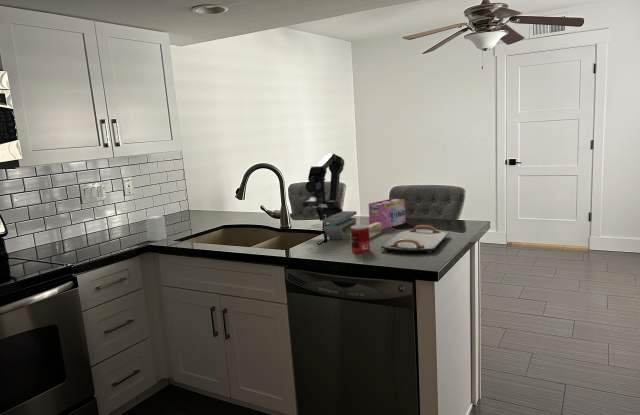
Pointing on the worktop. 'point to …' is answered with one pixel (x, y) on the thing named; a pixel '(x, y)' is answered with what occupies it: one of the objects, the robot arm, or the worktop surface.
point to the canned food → (360, 238)
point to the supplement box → (156, 228)
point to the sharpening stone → (340, 224)
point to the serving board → (416, 240)
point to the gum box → (387, 212)
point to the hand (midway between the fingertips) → (321, 220)
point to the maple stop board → (373, 229)
